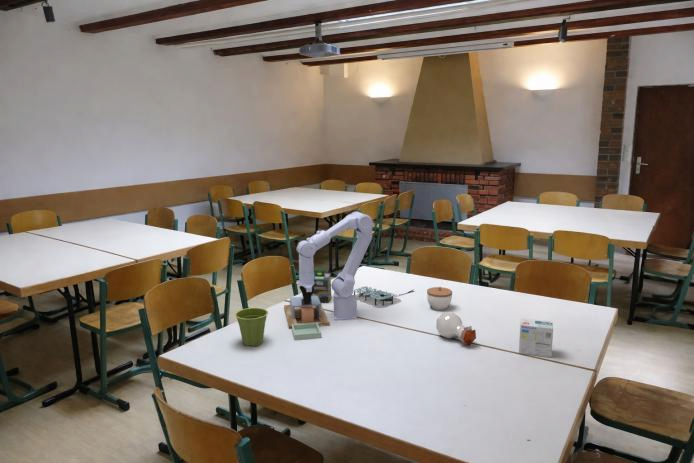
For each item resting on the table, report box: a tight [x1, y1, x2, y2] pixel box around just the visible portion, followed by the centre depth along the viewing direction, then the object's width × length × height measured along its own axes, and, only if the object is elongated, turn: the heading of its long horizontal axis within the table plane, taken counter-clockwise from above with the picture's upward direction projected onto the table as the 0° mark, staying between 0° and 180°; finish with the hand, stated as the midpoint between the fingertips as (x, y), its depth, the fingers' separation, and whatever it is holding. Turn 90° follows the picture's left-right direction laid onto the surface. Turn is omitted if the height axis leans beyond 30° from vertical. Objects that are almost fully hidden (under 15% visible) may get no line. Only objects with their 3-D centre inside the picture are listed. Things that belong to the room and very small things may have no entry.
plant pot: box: [234, 307, 269, 347], centre depth 181 cm, size 12×12×11 cm
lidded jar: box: [426, 286, 453, 311], centre depth 215 cm, size 11×11×9 cm
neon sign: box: [353, 286, 415, 309], centre depth 232 cm, size 21×4×29 cm
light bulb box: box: [518, 317, 554, 358], centre depth 172 cm, size 11×7×11 cm, turn 71°
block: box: [301, 306, 314, 323], centre depth 200 cm, size 4×4×6 cm
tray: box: [291, 323, 322, 341], centre depth 189 cm, size 10×10×2 cm
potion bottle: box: [435, 311, 477, 347], centre depth 183 cm, size 10×10×15 cm
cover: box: [289, 296, 322, 318], centre depth 206 cm, size 12×10×8 cm
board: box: [283, 304, 330, 330], centre depth 206 cm, size 16×24×2 cm
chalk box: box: [312, 268, 332, 304], centre depth 225 cm, size 9×9×15 cm
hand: (307, 303), depth 200 cm, fingers closed
